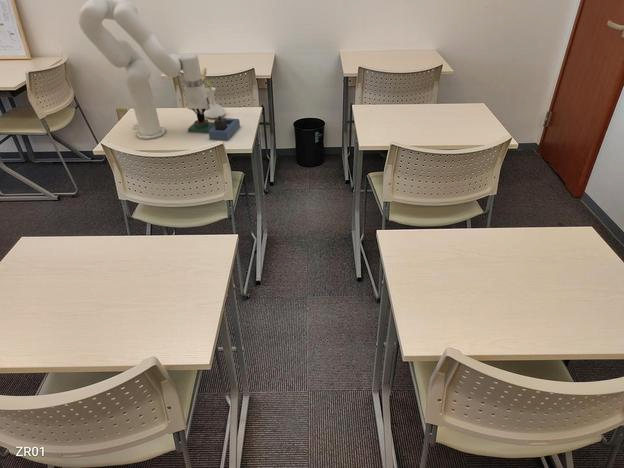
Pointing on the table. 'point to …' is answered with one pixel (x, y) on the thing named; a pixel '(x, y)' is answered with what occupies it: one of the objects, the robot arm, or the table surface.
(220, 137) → the blue tray
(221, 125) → the charger
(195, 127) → the switch box
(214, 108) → the flower in vase
